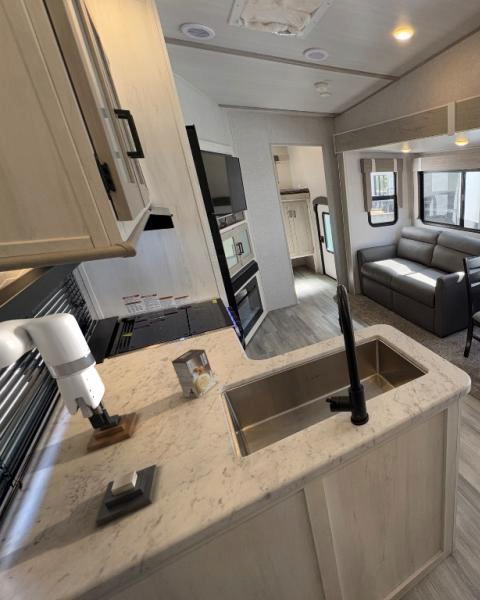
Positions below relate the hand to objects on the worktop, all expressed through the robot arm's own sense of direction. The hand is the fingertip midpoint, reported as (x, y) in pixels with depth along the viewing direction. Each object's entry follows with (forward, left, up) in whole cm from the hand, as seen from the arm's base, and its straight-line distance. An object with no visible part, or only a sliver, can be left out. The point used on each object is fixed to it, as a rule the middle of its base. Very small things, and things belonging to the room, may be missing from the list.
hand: (102, 425), depth 80 cm
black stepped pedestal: (+3, -11, -16) cm, 20 cm away
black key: (-6, +21, -13) cm, 26 cm away
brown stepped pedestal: (-6, +21, -16) cm, 27 cm away
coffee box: (+18, +31, -17) cm, 40 cm away
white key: (+3, -11, -13) cm, 17 cm away
